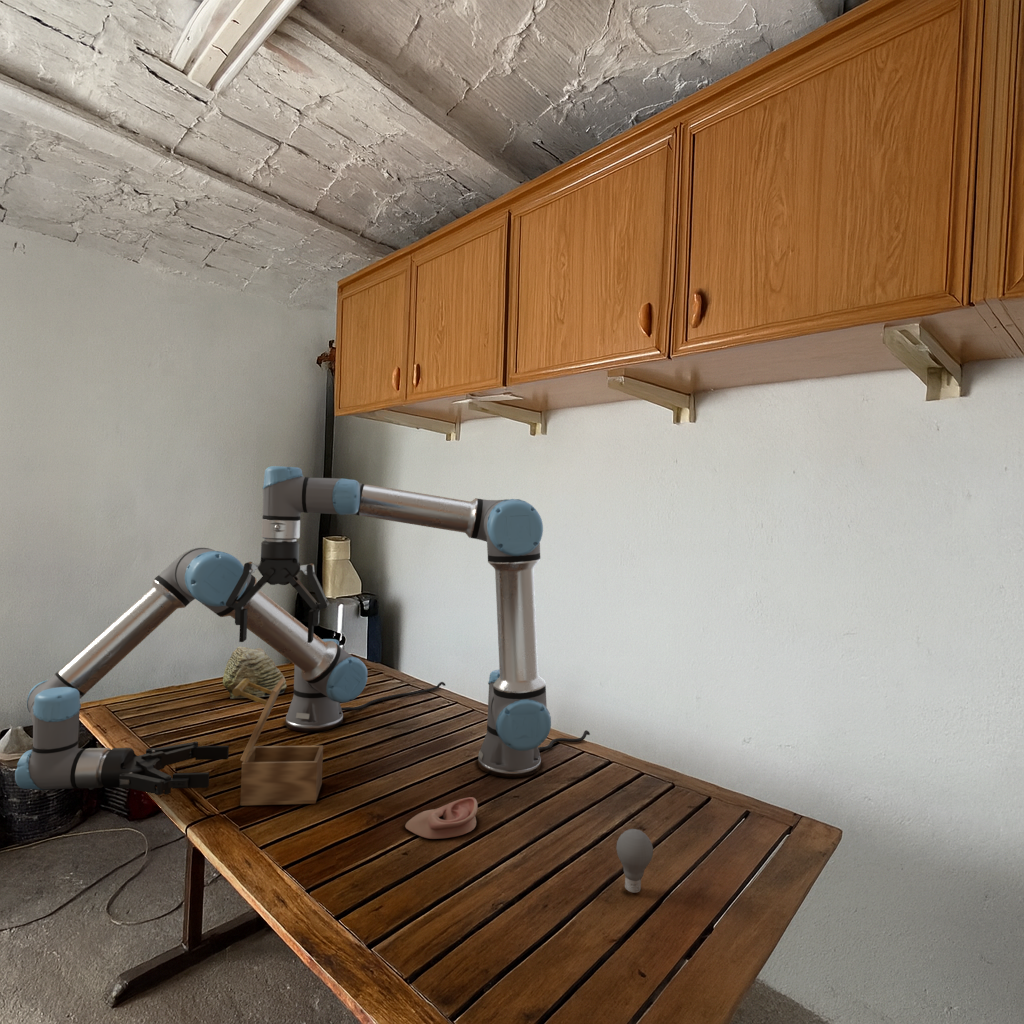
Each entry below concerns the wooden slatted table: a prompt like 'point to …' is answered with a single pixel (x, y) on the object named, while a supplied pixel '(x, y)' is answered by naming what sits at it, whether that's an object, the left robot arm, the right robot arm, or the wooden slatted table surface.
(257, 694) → the fossil
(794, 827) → the wooden slatted table surface
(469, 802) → the anatomical model
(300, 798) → the chest
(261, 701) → the lid
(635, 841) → the light bulb
